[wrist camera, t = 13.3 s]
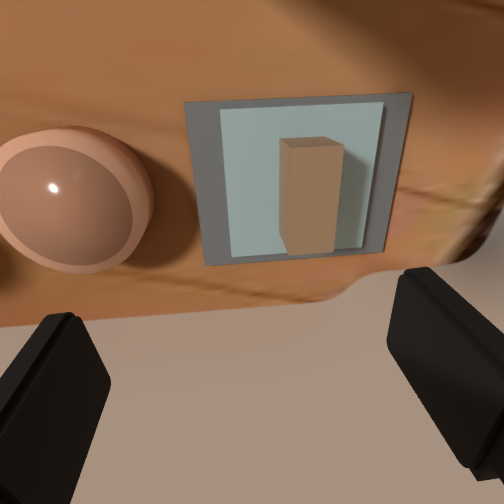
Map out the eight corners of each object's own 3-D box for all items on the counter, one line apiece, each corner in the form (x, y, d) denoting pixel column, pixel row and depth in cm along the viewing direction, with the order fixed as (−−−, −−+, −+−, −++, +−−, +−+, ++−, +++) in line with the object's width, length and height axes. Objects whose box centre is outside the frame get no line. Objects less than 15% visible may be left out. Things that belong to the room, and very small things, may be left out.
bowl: (90, 96, 25) (62, 97, 21) (180, 210, 31) (173, 230, 26) (-10, 174, 27) (-55, 190, 23) (90, 267, 33) (70, 295, 28)
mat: (409, 92, 27) (412, 92, 27) (380, 249, 35) (382, 252, 34) (184, 102, 26) (183, 102, 25) (205, 263, 33) (205, 266, 33)
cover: (378, 101, 27) (417, 104, 21) (357, 243, 33) (383, 271, 28) (219, 109, 26) (219, 113, 20) (231, 252, 32) (233, 284, 27)
